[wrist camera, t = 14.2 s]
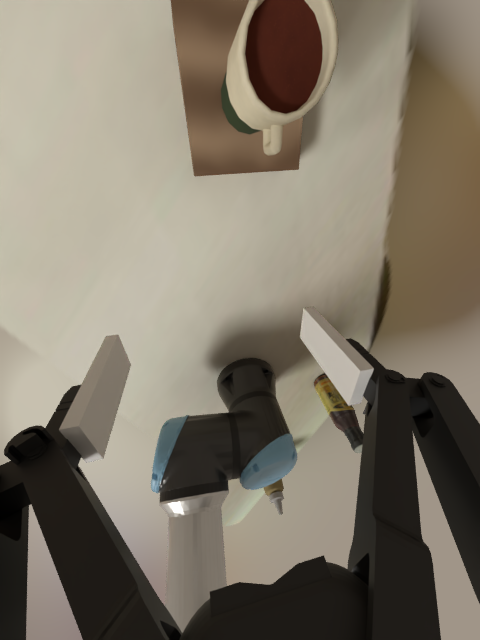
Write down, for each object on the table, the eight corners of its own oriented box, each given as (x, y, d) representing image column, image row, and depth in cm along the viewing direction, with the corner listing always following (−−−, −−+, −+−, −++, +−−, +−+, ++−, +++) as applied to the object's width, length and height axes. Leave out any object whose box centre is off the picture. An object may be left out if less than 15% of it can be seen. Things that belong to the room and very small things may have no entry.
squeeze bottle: (274, 457, 89) (291, 514, 74) (254, 462, 88) (268, 521, 73) (275, 447, 84) (294, 506, 70) (254, 452, 83) (269, 512, 69)
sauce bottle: (335, 372, 66) (383, 439, 50) (327, 387, 69) (370, 453, 53) (315, 373, 64) (358, 442, 48) (308, 388, 68) (347, 457, 52)
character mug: (275, 156, 29) (325, 150, 19) (221, 160, 28) (242, 155, 18) (279, 26, 23) (357, -93, 13) (210, 24, 22) (232, -105, 12)
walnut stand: (285, 169, 35) (298, 169, 31) (194, 175, 33) (195, 176, 29) (293, 27, 27) (312, 2, 23) (173, 24, 25) (170, -3, 21)
